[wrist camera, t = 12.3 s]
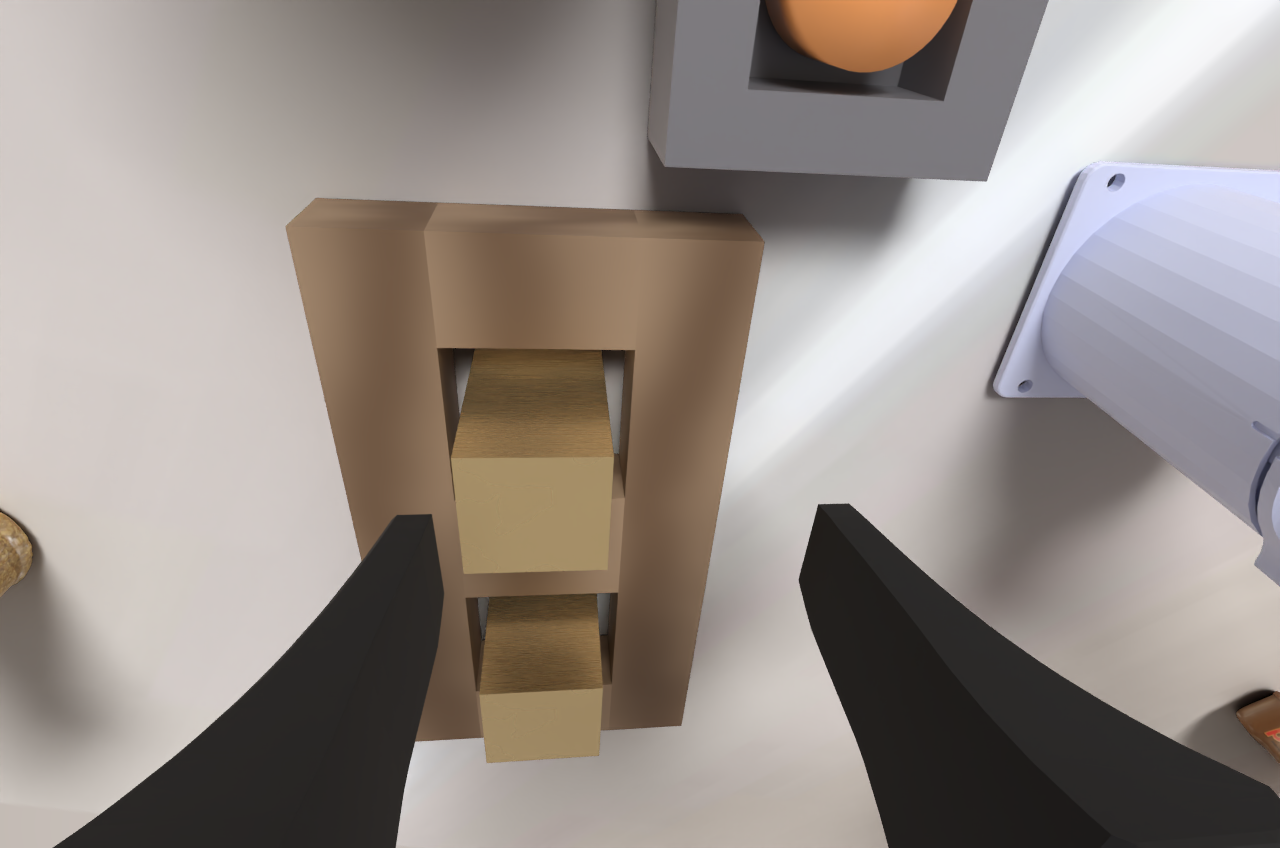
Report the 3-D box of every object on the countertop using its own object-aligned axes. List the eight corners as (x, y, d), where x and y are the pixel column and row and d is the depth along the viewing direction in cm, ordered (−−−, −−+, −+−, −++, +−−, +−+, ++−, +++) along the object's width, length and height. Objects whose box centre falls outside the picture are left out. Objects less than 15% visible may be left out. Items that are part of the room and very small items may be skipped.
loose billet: (601, 347, 22) (613, 457, 17) (597, 446, 24) (607, 569, 19) (475, 345, 21) (450, 458, 16) (483, 447, 23) (463, 573, 18)
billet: (594, 557, 27) (602, 688, 22) (591, 623, 29) (599, 755, 24) (493, 560, 26) (479, 694, 22) (498, 627, 29) (486, 763, 24)
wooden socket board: (743, 214, 20) (764, 242, 18) (673, 677, 32) (681, 725, 30) (315, 198, 18) (285, 226, 16) (413, 690, 30) (402, 742, 28)
